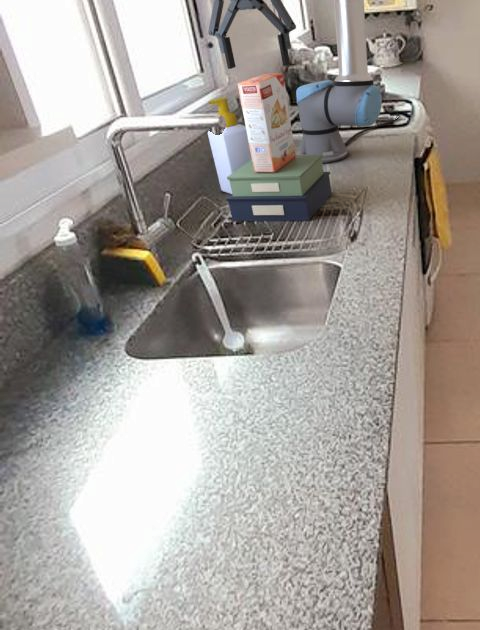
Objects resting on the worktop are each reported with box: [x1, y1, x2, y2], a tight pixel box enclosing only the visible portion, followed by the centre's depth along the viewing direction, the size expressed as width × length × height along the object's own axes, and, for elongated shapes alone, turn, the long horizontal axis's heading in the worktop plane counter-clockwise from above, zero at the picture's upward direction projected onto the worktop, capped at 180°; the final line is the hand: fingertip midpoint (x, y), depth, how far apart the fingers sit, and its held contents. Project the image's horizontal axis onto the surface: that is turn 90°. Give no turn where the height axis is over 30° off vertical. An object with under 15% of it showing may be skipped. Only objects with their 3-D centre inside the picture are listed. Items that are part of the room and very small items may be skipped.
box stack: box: [225, 154, 333, 222], centre depth 155 cm, size 21×21×11 cm
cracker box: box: [237, 72, 297, 173], centre depth 147 cm, size 14×6×21 cm, turn 169°
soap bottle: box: [207, 97, 252, 195], centre depth 166 cm, size 9×9×25 cm
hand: (259, 66), depth 141 cm, fingers open, 13 cm apart
